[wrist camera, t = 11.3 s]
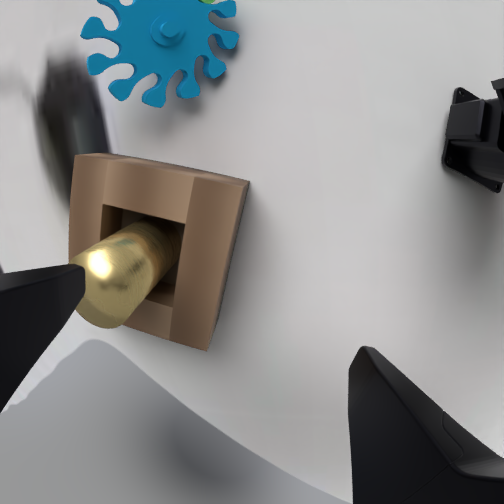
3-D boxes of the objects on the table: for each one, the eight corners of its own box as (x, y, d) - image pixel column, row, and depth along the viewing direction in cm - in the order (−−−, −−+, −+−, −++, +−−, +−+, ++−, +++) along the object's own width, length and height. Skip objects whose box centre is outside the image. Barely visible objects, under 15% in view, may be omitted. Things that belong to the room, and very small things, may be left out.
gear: (182, 137, 17) (45, 60, 10) (152, 120, 21) (48, 63, 13) (279, 14, 15) (179, -78, 8) (232, 19, 19) (147, -50, 11)
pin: (185, 222, 20) (133, 266, 12) (177, 276, 21) (129, 338, 14) (133, 210, 20) (63, 244, 12) (128, 261, 21) (66, 313, 14)
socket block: (249, 181, 20) (242, 187, 16) (217, 321, 23) (206, 351, 19) (106, 152, 20) (75, 155, 16) (95, 283, 23) (70, 304, 19)
